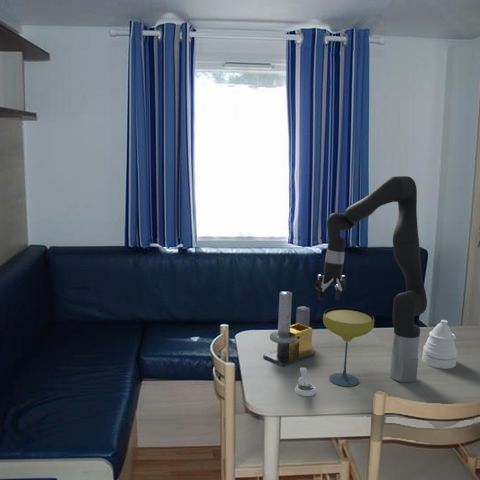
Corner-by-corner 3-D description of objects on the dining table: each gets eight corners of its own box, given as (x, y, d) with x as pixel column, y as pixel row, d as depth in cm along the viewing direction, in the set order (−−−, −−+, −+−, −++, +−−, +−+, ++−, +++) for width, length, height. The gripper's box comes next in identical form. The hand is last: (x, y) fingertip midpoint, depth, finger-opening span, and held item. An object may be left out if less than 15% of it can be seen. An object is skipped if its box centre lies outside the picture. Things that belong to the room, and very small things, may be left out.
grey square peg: (301, 346, 232) (303, 310, 229) (294, 343, 235) (296, 307, 232) (308, 343, 235) (310, 308, 232) (301, 341, 238) (302, 305, 235)
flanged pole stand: (283, 366, 211) (286, 299, 206) (263, 357, 219) (265, 292, 214) (315, 354, 224) (319, 290, 218) (295, 346, 232) (298, 284, 226)
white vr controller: (289, 386, 184) (289, 367, 189) (296, 403, 192) (295, 385, 197) (311, 383, 182) (310, 365, 187) (317, 401, 191) (316, 383, 195)
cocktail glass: (373, 375, 206) (378, 312, 201) (363, 395, 190) (369, 327, 185) (326, 366, 213) (330, 304, 208) (313, 384, 197) (317, 318, 192)
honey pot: (458, 370, 213) (463, 326, 210) (424, 366, 216) (428, 323, 212) (452, 357, 225) (457, 315, 222) (420, 353, 228) (424, 312, 224)
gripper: (326, 262, 218) (320, 302, 220) (353, 263, 225) (347, 301, 227) (314, 259, 225) (309, 297, 227) (341, 260, 232) (336, 297, 234)
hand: (328, 299), depth 227 cm, fingers open, 8 cm apart
